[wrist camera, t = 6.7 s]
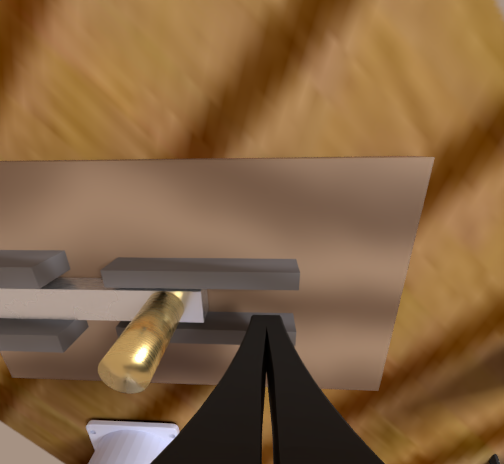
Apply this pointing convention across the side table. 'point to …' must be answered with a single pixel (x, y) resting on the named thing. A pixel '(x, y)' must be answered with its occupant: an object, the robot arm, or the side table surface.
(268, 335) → the robot arm
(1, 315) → the bolt
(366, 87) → the side table surface
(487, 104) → the side table surface
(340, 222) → the door board
